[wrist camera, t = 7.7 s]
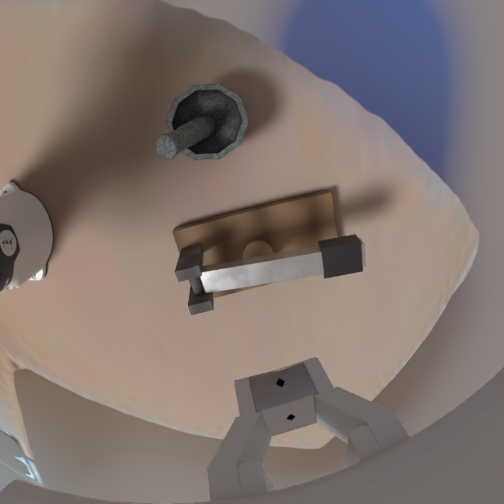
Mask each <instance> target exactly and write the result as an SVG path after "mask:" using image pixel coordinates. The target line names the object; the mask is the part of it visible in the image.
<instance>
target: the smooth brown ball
mask: <svg viewBox="0 0 504 504" xmlns="http://www.w3.org/2000/svg"><path fill="white" fill-rule="evenodd" d="M268 254H274V252H273V250H272V248H271V246H270V245H269V244H268V243H266V242H264V241H260V240H256V241H252V242H250V243H249V244H248V245H247V246H246V247H245V249H244V251H243V259H246V258H251V257H257V256H263V255H268Z"/></svg>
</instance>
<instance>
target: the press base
mask: <svg viewBox="0 0 504 504" xmlns="http://www.w3.org/2000/svg"><path fill="white" fill-rule="evenodd" d="M173 235H174V238H175V241H176V244H177V247H178V250H179V253H180V256H179V259H178V263H177V266H176V270H175V274H176V276H177V279H178V282H180V281H184V280H188V279H189V282H190V285H191V287H190V294H189V302H188V308H189V310H190V313H191V315H194V314H198V313H202V312H206V311H210V310H214V308H213V298H216V297H220V296H224V295H228V294H232V293H236V292H240V291H243V290H247V289H251V288H255V287H259V286H263V285H266V284H261V285H255V286H249V287H243V288H236V289H229V290H223V291H216V292H209V293H206V292H205V289H204V286H203V283H202V280H201V277H200V276H202V268H203V266H205V265H211V264H217V263H223V262H228V261H234V260H240V259H243V251H244V249H245V247H246V246H247V245H248V244H249V243H250V242H252V241H256V240H260V241H264V242H266V243H268V244H269V245H270V246H271V248H272V250H273V252H274V253H280V252H285V251H291V250H297V249H302V248H308V247H313V246H318V241H321V240H326V239H332V238H338V237H337V228H336V220H335V213H334V205H333V198H332V192H330V191H327V190H325V191H321V192H316V193H312V194H307V195H303V196H298V197H294V198H290V199H285V200H281V201H277V202H273V203H268V204H264V205H260V206H256V207H252V208H248V209H244V210H240V211H236V212H232V213H228V214H225V215H221V216H217V217H213V218H209V219H206V220H202V221H198V222H195V223H191V224H187V225H184V226H180V227H177V228H174V230H173ZM268 284H270V283H268Z"/></svg>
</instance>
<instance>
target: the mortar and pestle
mask: <svg viewBox="0 0 504 504" xmlns="http://www.w3.org/2000/svg"><path fill="white" fill-rule="evenodd" d="M248 121H249V120H248V117H247V114H246V111H245V108H244V105H243V102H242V99H241V97H239V96H238V95H236V94H235V93H233V92H231V91H230V90H228V89H227V88H225V87H224V86H222V85H221V84H209V85H194V86H193V87H191V88H190V89H188V90H187V91H185V92H184V93H183V94H181V95H180V96H179V97H177V98H176V99H175V100H174V101H173V103H172V106H171V109H170V112H169V115H168V118H167V121H166V126H167V129H168V132H169V134H163V135H161V136H160V137H159V138H158V139H157V140H156V147H155V148H156V150H157V153H158V155H160V156H161V157H162V158H164V159H172V158H174V157H175V156H176V155H177V154H178V153H179V152H180V151H181V152H183V153H184V154H186V155H187V156H189V157H191V158H192V159H194V160H205V159H221V158H222V157H223V156H225V155H226V154H227V153H229V152H230V151H232V150H233V149H234V148H236V147H237V146H239V145H240V144H241V142H242V139H243V136H244V133H245V130H246V127H247V124H248Z"/></svg>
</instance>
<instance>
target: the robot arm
mask: <svg viewBox="0 0 504 504" xmlns="http://www.w3.org/2000/svg"><path fill="white" fill-rule="evenodd" d="M6 191H7V193H6ZM52 243H53V234H52V227H51V223H50V219H49V217H48V214H47V212H46V210H45V208H44V207H43V205H42V204H41V202H40V201H39V200H38V199H37V198H36V197H35V196H33V195H32V194H30V193H27V192H24V191H22V190H20V189H19V188H18V187H17V186H16V184H14V183H13V182H9V183H7V184H6V185H5V186H4V187H3V188H2V189H1V190H0V293H1V292H2V291H3V290H6V289H8V288H9V287H10V289H14V288H15V287H16V288H18V287H20V286H21V285H22V284H24V283H25V282H26V281H33V280H42V279H43V278H44V277H45V274H46V262H47V260H48V258H49V256H50V253H51V249H52ZM234 385H235V391H236V396H237V402H238V407H239V413H240V416H239V417H236V418H235V420H234V422H233V424H232V425H231V427H230V429H229V431H228V433H227V434H226V436H225V438H224V440H223V442H222V443H221V445H220V447H219V449H218V450H217V452H216V454H215V455H214V457H213V459H212V461H211V462H210V464H209V466H208V468H207V470H208V480H209V490H210V498H211V501H208V502H196V503H174V504H504V367H503V368H502V369H501V371H499V372H498V373H497V374H496V375H495V376H494V377H493V378H492V379H491V380H489V381H488V382H487V383H486V384H485V385H484V386H483V387H481V388H480V389H479V390H478V391H477V392H475V393H474V394H473V395H472V396H470V397H469V398H468V399H467V400H465V401H464V402H463V403H461V404H460V405H459V406H457V407H456V408H455V409H453V410H452V411H450V412H449V413H447V414H446V415H445V416H443V417H442V418H440V419H439V420H437V421H436V422H434V423H433V424H432V425H430V426H428V427H426V428H425V429H423V430H421V431H420V432H419V433H417V434H415V435H413V436H412V437H410V436H409V435H408V434H407V432H406V430H405V429H404V427H403V426H402V424H401V423H400V421H399V420H398V418H397V417H396V415H395V414H394V412H393V411H392V410H390V409H388V408H385V407H383V406H380V405H378V404H376V403H373V402H371V401H369V400H366V399H364V398H362V397H360V396H357V395H355V394H353V393H351V392H348V391H346V390H344V389H342V388H340V387H335V388H334V387H333V385H332V384H331V382H330V380H329V378H328V376H327V374H326V373H325V371H324V369H323V367H322V365H321V363H320V362H319V360H318V358H317V357H314V358H311V359H308V360H305V361H303V362H299V363H296V364H293V365H290V366H287V367H283V368H280V369H277V370H275V371H271V372H267V373H263V374H259V375H255V376H251V377H247V378H243V379H239V380H235V382H234ZM314 423H317V424H318V425H320V426H321V427H323V428H324V429H326V430H327V431H329V432H330V433H332V434H333V435H335V436H336V437H338V438H340V439H341V440H343V441H344V442H346V443H348V444H347V451H346V458H345V463H346V465H347V468H345V469H343V470H340V471H337V472H335V473H332V474H329V475H326V476H324V477H321V478H318V479H315V480H312V481H308V482H305V483H302V484H298V485H295V486H291V487H287V488H284V489H279V490H274V487H273V484H272V482H271V481H270V479H269V477H268V476H267V474H266V472H265V471H264V469H263V467H262V466H261V465H262V462H263V459H264V457H265V454H266V451H267V449H268V446H269V443H270V441H271V436H275V435H278V434H282V433H285V432H288V431H291V430H294V429H298V428H301V427H305V426H308V425H311V424H314ZM0 504H149V503H132V502H120V501H119V502H118V501H110V500H102V499H96V498H89V497H84V496H78V495H73V494H69V493H64V492H60V491H56V490H52V489H48V488H45V487H41V486H38V485H35V484H32V483H29V482H26V481H22V480H14V481H12V482H11V483H10V484H8V485H7V486H6V487H5V488H4V489H3V490H2V491H1V492H0ZM150 504H152V503H150Z"/></svg>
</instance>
